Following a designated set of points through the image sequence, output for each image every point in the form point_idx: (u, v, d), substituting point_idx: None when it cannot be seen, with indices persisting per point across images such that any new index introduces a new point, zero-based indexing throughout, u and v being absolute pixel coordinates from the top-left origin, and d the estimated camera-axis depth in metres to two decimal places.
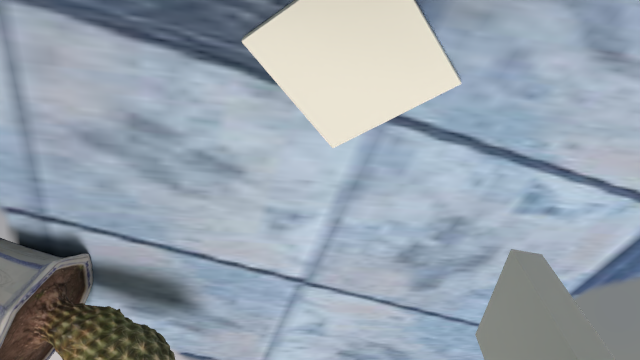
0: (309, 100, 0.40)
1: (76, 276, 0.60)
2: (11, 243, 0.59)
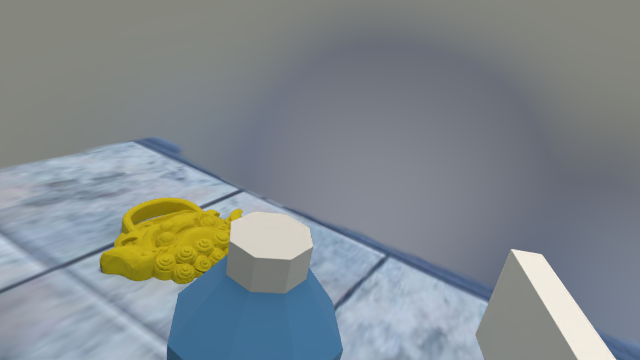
0: None
1: None
2: None
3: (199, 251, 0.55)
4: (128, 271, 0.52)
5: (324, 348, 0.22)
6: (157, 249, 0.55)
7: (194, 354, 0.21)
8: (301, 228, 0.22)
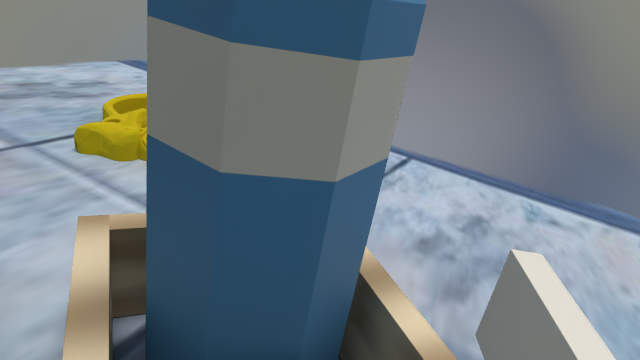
0: None
1: None
2: None
3: None
4: (109, 148, 0.44)
5: None
6: (144, 128, 0.46)
7: None
8: None
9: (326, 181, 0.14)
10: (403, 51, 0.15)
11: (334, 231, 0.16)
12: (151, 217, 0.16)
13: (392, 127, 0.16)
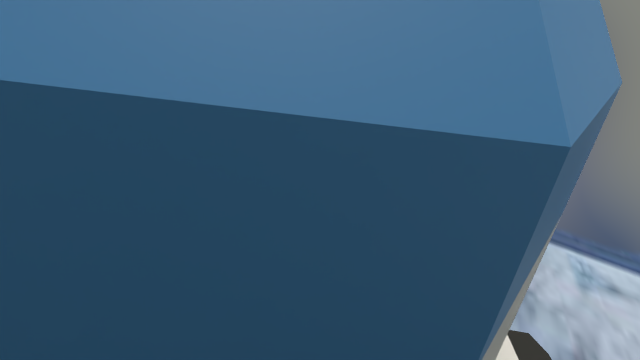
0: None
1: None
2: None
3: None
4: None
5: (591, 9, 0.04)
6: None
7: None
8: None
9: None
10: (553, 226, 0.05)
11: None
12: None
13: None
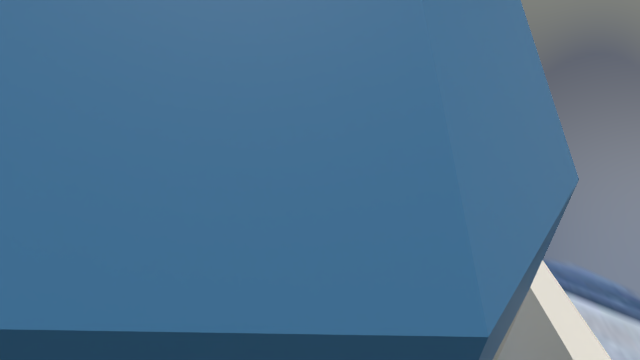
0: None
1: None
2: None
3: None
4: None
5: (540, 135, 0.04)
6: None
7: None
8: None
9: None
10: (515, 313, 0.05)
11: None
12: None
13: None
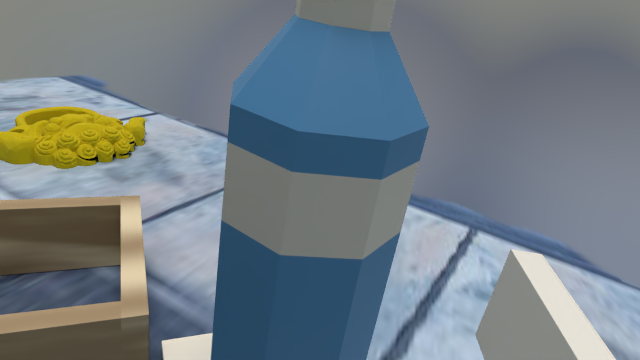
0: None
1: None
2: None
3: (83, 139, 0.56)
4: (6, 153, 0.53)
5: (412, 113, 0.19)
6: (40, 137, 0.55)
7: (265, 103, 0.17)
8: None
9: (356, 259, 0.19)
10: (411, 161, 0.20)
11: (360, 292, 0.21)
12: (221, 279, 0.22)
13: (403, 211, 0.21)
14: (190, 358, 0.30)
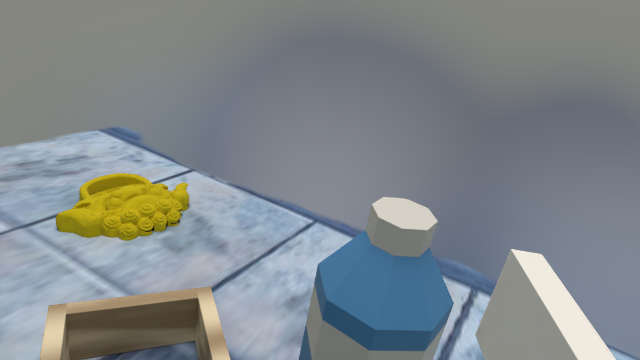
0: None
1: None
2: None
3: (142, 213, 0.65)
4: (79, 228, 0.62)
5: (443, 300, 0.29)
6: (106, 212, 0.64)
7: (351, 304, 0.27)
8: (423, 208, 0.29)
9: None
10: (442, 327, 0.30)
11: None
12: None
13: (434, 352, 0.31)
14: None
